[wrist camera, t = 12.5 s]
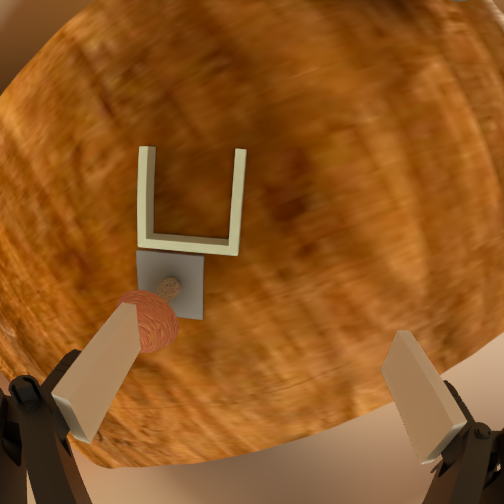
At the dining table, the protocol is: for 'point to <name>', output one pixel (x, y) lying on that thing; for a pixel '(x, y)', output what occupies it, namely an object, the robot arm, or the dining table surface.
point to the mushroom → (155, 314)
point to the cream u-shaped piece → (178, 241)
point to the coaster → (184, 269)
